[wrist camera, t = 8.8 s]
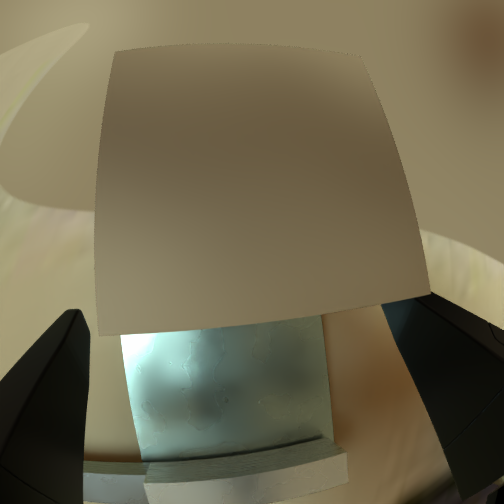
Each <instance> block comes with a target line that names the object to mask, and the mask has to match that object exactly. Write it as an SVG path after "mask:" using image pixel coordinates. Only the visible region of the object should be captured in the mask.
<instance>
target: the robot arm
mask: <svg viewBox="0 0 504 504" xmlns="http://www.w3.org/2000/svg"><path fill="white" fill-rule="evenodd" d="M381 306H382V309H383V311H384V314H385V316H386V319H387V322H388V324H389V327H390V329H391V332H392V335H393V337H394V340H395V342H396V345H397V347H398V349H399V351H400V353H401V355H402V357H403V359H404V362H405V364H406V366H407V368H408V370H409V372H410V374H411V376H412V379H413V381H414V383H415V385H416V387H417V389H418V392H419V394H420V396H421V398H422V401H423V403H424V405H425V407H426V410H427V412H428V414H429V417H430V419H431V421H432V424H433V426H434V429H435V431H436V433H437V436H438V438H439V441H440V443H441V446H442V448H443V449H444V450H443V451H444V454H445V457H446V459H447V462H448V464H449V467H450V470H451V473H452V475H453V478H454V481H455V484H456V486H457V489H458V492H459V495H460V498H461V500H462V501H464V500H466V499H468V498H469V497H471V496H473V495H474V494H476V493H478V492H479V491H481V490H483V489H484V488H486V487H487V486H489V485H491V484H492V483H494V482H495V481H497V480H498V479H500V478H501V479H502V480H503V482H504V330H502V329H500V328H498V327H497V326H495V325H493V324H491V323H489V322H487V321H486V320H484V319H482V318H480V317H478V316H476V315H475V314H473V313H471V312H469V311H467V310H465V309H463V308H462V307H460V306H458V305H456V304H454V303H452V302H450V301H448V300H446V299H445V298H443V297H441V296H439V295H437V294H435V293H433V292H431V294H429V295H424V296H419V297H414V298H410V299H405V300H400V301H395V302H390V303H384V304H381ZM89 366H90V331H89V328H88V326H87V323H86V321H85V318H84V316H83V313H82V311H81V310H80V309H68V310H66V311H65V312H64V313H63V314H62V315H61V316H60V317H59V318H58V319H57V320H56V321H55V322H54V323H53V324H52V325H51V326H50V327H49V328H48V329H47V330H46V331H45V332H44V333H43V334H42V335H41V336H40V338H39V339H38V340H37V341H36V342H35V343H34V344H33V345H32V346H31V347H30V348H29V349H28V350H27V351H26V353H25V354H24V355H23V356H22V357H21V358H20V359H19V360H18V361H17V363H16V364H15V365H14V366H13V367H12V368H11V369H10V370H9V372H8V373H7V374H6V375H5V376H4V377H3V378H2V380H1V381H0V504H83V463H84V440H85V424H86V412H87V401H88V392H89ZM486 504H504V483H503V484H502V485H500V486H499V487H498V488H497V489H495V490H494V491H493V492H492V493H490V494H489V495H488V497H487V501H486Z"/></svg>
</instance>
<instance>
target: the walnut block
mask: <svg viewBox="0 0 504 504" xmlns="http://www.w3.org/2000/svg"><path fill="white" fill-rule="evenodd" d="M94 259H95V289H96V307H97V320H98V331H99V336H116V335H135V334H151V333H165V332H178V331H190V330H201V329H211V328H221V327H230V326H239V325H248V324H256V323H264V322H272V321H280V320H287V319H294V318H301V317H308V316H314V315H321V314H327V313H333V312H340V311H346V310H351V309H357V308H363V307H368V306H374V305H379V304H384V303H390V302H395V301H400V300H405V299H410V298H414V297H419V296H424V295H429V294H431V291H430V284H429V278H428V272H427V266H426V261H425V255H424V250H423V245H422V240H421V236H420V231H419V227H418V222H417V218H416V214H415V210H414V206H413V202H412V198H411V194H410V191H409V187H408V183H407V180H406V176H405V173H404V170H403V166H402V163H401V160H400V157H399V153H398V150H397V147H396V144H395V141H394V138H393V135H392V132H391V130H390V127H389V124H388V121H387V118H386V116H385V113H384V110H383V108H382V105H381V103H380V100H379V98H378V96H377V93H376V90H375V88H374V86H373V83H372V81H371V78H370V76H369V74H368V71H367V69H366V67H365V65H364V62H363V60H362V58H361V56H356V55H349V54H344V53H338V52H331V51H324V50H317V49H309V48H300V47H290V46H277V45H262V44H229V43H228V44H227V43H225V44H224V43H223V44H222V43H219V44H186V45H170V46H158V47H149V48H140V49H132V50H124V51H117V52H115V54H114V59H113V63H112V68H111V74H110V79H109V84H108V89H107V95H106V101H105V108H104V116H103V123H102V129H101V138H100V148H99V156H98V168H97V181H96V199H95V228H94Z"/></svg>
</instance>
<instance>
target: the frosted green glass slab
mask: <svg viewBox="0 0 504 504" xmlns="http://www.w3.org/2000/svg"><path fill="white" fill-rule="evenodd" d="M121 341H122V350H123V358H124V365H125V372H126V379H127V385H128V392H129V398H130V403H131V409H132V414H133V419H134V424H135V429H136V434H137V439H138V443H139V448H140V452H141V456H142V460H143V463H146V462H175V461H190V460H202V459H212V458H221V457H229V456H236V455H243V454H250V453H256V452H262V451H267V450H273V449H278V448H283V447H288V446H292V445H297V444H301V443H306V442H310V441H314V440H318V439H322V438H326V437H328V438H329V439H331V440H332V441H333V442H334V435H333V422H332V411H331V400H330V389H329V379H328V370H327V361H326V352H325V344H324V335H323V327H322V320H321V315H314V316H308V317H301V318H294V319H287V320H280V321H272V322H264V323H256V324H248V325H239V326H230V327H221V328H211V329H201V330H190V331H178V332H165V333H151V334H135V335H121Z"/></svg>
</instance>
